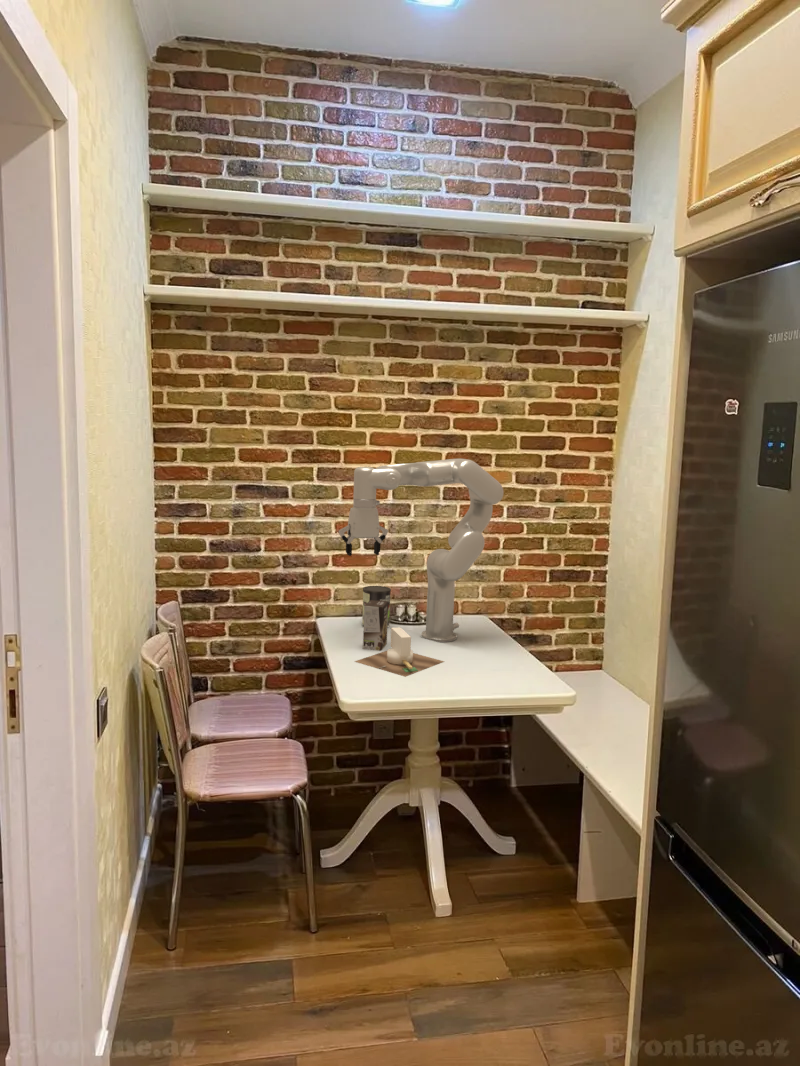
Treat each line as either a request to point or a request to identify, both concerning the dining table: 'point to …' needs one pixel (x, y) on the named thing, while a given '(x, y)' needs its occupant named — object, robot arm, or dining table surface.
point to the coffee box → (375, 625)
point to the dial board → (382, 663)
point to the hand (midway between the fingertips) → (362, 554)
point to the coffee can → (376, 597)
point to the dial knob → (400, 648)
